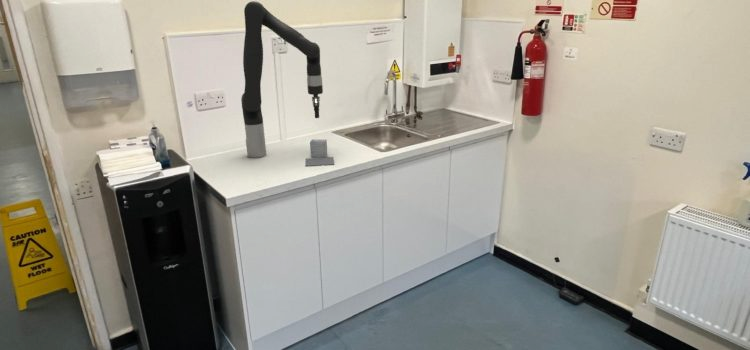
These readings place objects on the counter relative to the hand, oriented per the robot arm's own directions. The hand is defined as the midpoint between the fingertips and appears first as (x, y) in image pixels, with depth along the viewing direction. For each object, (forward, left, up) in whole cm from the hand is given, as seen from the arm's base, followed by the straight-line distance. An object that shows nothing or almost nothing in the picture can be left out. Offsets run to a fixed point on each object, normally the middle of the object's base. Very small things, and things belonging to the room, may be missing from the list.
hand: (317, 117), depth 238 cm
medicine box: (0, -8, -19) cm, 20 cm away
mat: (0, -17, -18) cm, 25 cm away
